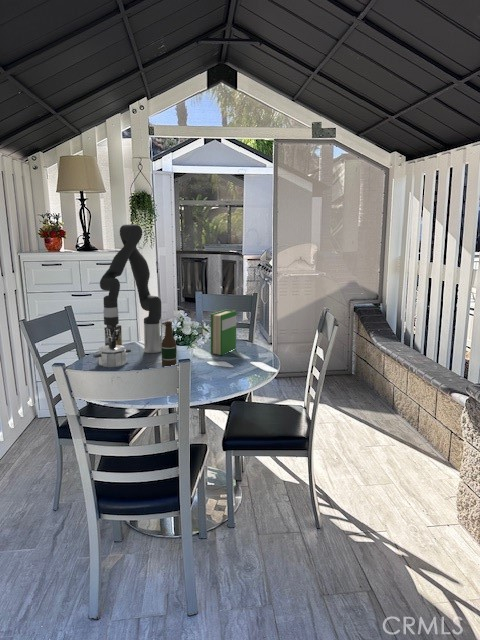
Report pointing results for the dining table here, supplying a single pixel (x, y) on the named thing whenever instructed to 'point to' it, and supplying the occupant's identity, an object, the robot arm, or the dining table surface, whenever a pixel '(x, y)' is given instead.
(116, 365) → the pot
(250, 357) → the dining table surface
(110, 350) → the lid
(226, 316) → the hardback book
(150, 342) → the robot arm
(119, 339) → the coffee box
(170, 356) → the beer bottle
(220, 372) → the dining table surface
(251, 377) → the dining table surface
